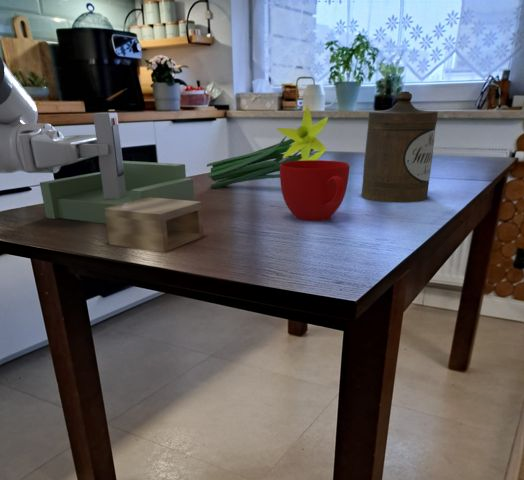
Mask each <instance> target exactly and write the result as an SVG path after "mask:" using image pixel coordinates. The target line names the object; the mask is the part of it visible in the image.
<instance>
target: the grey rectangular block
mask: <svg viewBox="0 0 524 480" xmlns="http://www.w3.org/2000/svg"><path fill="white" fill-rule="evenodd" d="M92 116H93V125H94V131H95V135H96V140H97V144H98V145H99V144H108V145H109V146H110V152H111V153H110V154H108V155H99V156H98V164H99V163H100V168H99V171H100V170H101V178H102V185H103V193H104V199H120V198H122V197H124V196H125V195H126V187H125V178H124V169H123V161H124V160H123V152H122V144H121V134H120V125H119V117H118V112H93V113H92Z"/></svg>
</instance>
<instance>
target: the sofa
mask: <svg viewBox="0 0 524 480" xmlns="http://www.w3.org/2000/svg"><path fill="white" fill-rule="evenodd" d="M98 167H99V171H98V172H92V173H86V174H80V175H75V176H70V177H69V176H68V177H63V178H57V179H52V180H46V181H41V182H40V181H39V185H40V186H39V187H40V192H41V197H42V202H43V207H44V212H45V217H46V219H52V220H53V219H54V220H56V219H64V220H73V221H81V222H89V223H98V224H106V218H105V211H104V208H108V207H111V206H115V205H119V204H123V203H127V202H131V201H135V200H139V199H143V198H147V197H154V198H165V199H176V200H187V201H196V200H195V188H194V187H195V186H194V185H195V184H194V178H188V177H187V171H186V164H185V163H170V162H169V163H168V162H155V161H154V162H152V161H151V162H150V161H133V160H132V161H131V160H123V169H124V178H125V187H126V195H125V196H124V197H122V198H120V199H104V193H103V185H102V178H101V170H100V163H99V162H98Z"/></svg>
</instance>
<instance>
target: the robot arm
mask: <svg viewBox="0 0 524 480" xmlns="http://www.w3.org/2000/svg"><path fill="white" fill-rule="evenodd" d="M38 121H39V109H38V106H37V104H36V102H35V101H34V99H33V98H32V97H31V95H30V94H29V92H28V91H27V90H26V89H25V88H24V86H23V85H22V84H21V82H20V81H19V80H18V79H17V77H16V76H15V75H14V74H13V73H12V72H11V70H10V69H9V68H8V65H7V64H6V63H5V61H4V60H3V58H2V57H1V56H0V174H14V173H17V172H23V173H28V174H56V173H58V172H59V171H60V170H61V168H62V167H64V166H68V165H71V164H72V165H73V164H76V163H78V162H82V161H85V160H88V159H92V158H95V157H99V155H108V154H110V153H111V152H110V146H109V145H108V144H99V145H98V144H97V140H96V134H73V135H72V134H71V135H67V136H66V135H65V136H64V134H63V133H62V132H61V131H60V130H56V129H55V127H54V126H53V125H52V124H50V123H48V122H47V123H46V122H45V123H44V122H43V123H38Z"/></svg>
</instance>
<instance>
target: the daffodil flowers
mask: <svg viewBox="0 0 524 480" xmlns="http://www.w3.org/2000/svg"><path fill="white" fill-rule="evenodd" d="M303 112H304V113H303V117H302V121H301V125H300V126H298V128H297V129H295V128H283V127H280V128H276V130H277V131H278V133H279V132H280V133H281V134H282V135H284V136H285V137H283V138H282V139H281V141H279V142H278V143H275V144H273V145H270V146H267V147H265V148H262V149H258V150H256V151H253V152H249V153H247V154H242V155H238V156H233V157H228V158H225V159H220V160H216V161H213V162H209V163H207V164H206V167H210V172H209V173H208V174H207V177H208V178H211V179H210V180H211V181H213V182H214V183H213V184H211V185H210V189H212V190H215V189H219V188H223V187H226V186H230V185H232V184H233V185H234V184H238V183H243V182H250V181H257V180H267V179H280V173H278V172H280V164H282V163H285V162H291V161H305V160H320V158H321V157H322V156H323V155H324V153H325V152H326V151H327V148H326V147H325V145H324V144H323V143H322V142H321V140H320V139H318V138H317V137H316V136H317V135H318V134H319V133H321V131H322V130H323V129H324V127H325V126H326V124H327V122H328V120H329V116H327V117H324V118H322V119H320V120H319V121H317V122H316V123H315V124H313V120H312V113H311V112H310V108H309V105H306V107H305V109H304V111H303ZM286 138H289V139H287V140H285V139H286ZM314 151H316V152H315V153H312V152H314ZM284 159H285V160H284Z"/></svg>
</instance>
